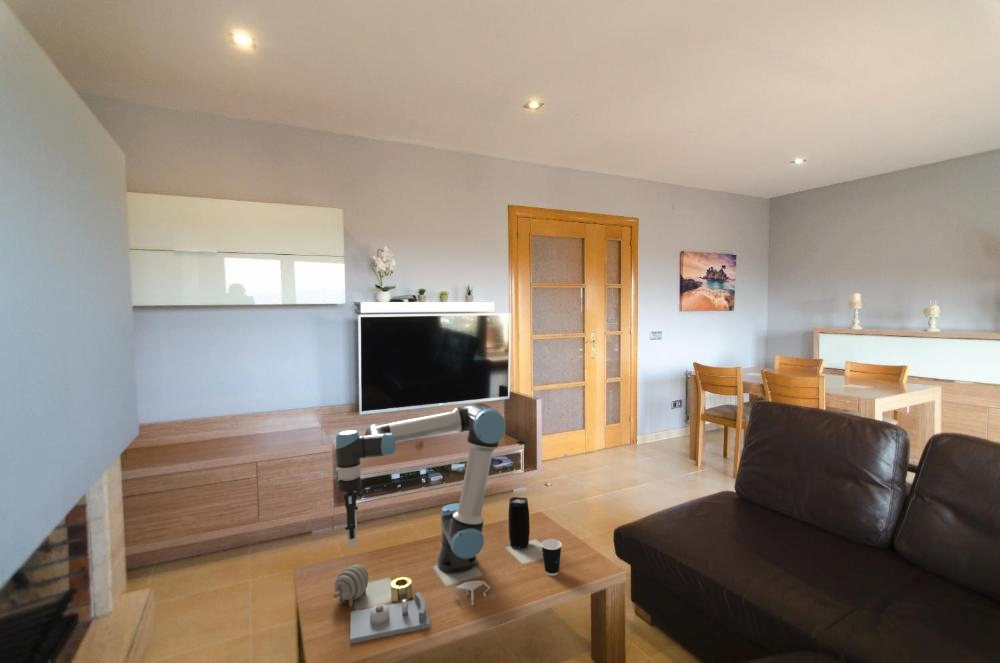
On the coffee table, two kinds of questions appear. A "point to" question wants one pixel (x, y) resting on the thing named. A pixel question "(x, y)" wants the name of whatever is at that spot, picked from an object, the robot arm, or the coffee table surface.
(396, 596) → the gold octagonal ring
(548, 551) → the dixie cup
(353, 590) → the toy sheep
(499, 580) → the coffee table surface
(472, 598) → the origami figure
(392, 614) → the carrier plate
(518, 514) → the portable speaker
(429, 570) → the coffee table surface
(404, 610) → the pin
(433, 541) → the coffee table surface
